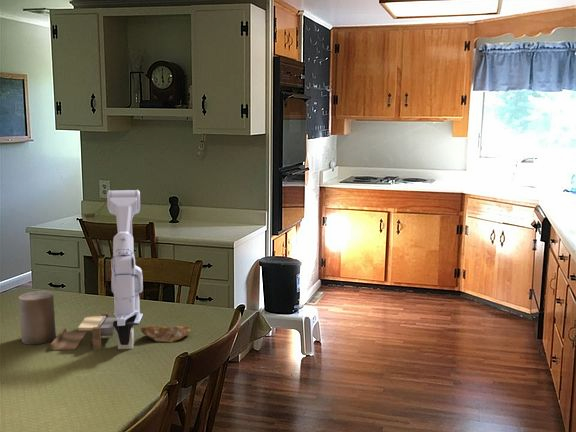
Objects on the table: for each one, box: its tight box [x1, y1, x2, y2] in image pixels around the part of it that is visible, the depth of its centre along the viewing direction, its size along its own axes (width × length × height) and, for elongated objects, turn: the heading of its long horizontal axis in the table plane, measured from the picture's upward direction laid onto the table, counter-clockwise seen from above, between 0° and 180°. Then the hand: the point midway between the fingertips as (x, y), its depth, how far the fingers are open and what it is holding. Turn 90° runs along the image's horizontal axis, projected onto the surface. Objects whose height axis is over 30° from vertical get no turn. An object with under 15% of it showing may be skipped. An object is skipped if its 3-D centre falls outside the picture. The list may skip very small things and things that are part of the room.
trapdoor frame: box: [50, 312, 110, 351], centre depth 188 cm, size 15×14×6 cm
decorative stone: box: [140, 324, 192, 344], centre depth 192 cm, size 10×4×15 cm
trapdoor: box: [77, 315, 117, 337], centre depth 188 cm, size 11×10×3 cm
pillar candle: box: [18, 290, 57, 345], centre depth 188 cm, size 10×10×15 cm
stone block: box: [116, 327, 135, 350], centre depth 184 cm, size 4×4×5 cm
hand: (125, 341), depth 184 cm, fingers closed on stone block, 4 cm apart
